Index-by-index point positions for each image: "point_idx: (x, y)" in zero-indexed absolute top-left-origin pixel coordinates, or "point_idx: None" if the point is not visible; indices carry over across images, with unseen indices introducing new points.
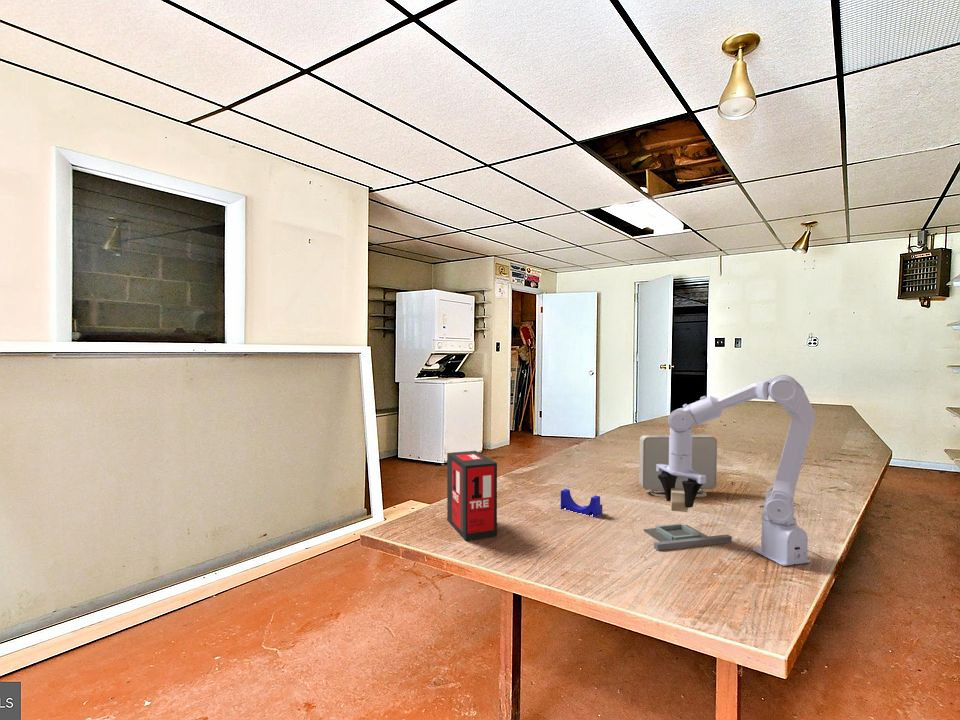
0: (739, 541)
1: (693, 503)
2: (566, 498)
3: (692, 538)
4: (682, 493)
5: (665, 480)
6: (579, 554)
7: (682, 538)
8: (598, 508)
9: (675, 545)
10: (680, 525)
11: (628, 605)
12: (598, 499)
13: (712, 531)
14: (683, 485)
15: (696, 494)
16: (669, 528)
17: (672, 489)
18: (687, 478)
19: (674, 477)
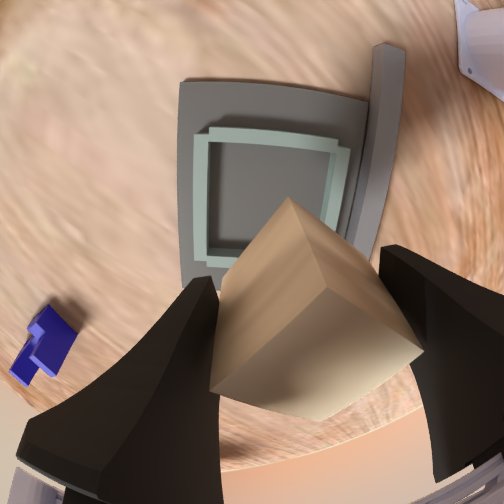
0: (393, 25)
1: (412, 253)
2: (34, 372)
3: (363, 213)
4: (384, 377)
5: (217, 486)
6: (274, 423)
7: None
8: (55, 337)
9: None
10: (208, 143)
11: (414, 406)
12: (44, 356)
13: (274, 21)
14: (437, 451)
15: (473, 286)
16: (208, 199)
17: (263, 402)
18: (469, 480)
19: (158, 468)
